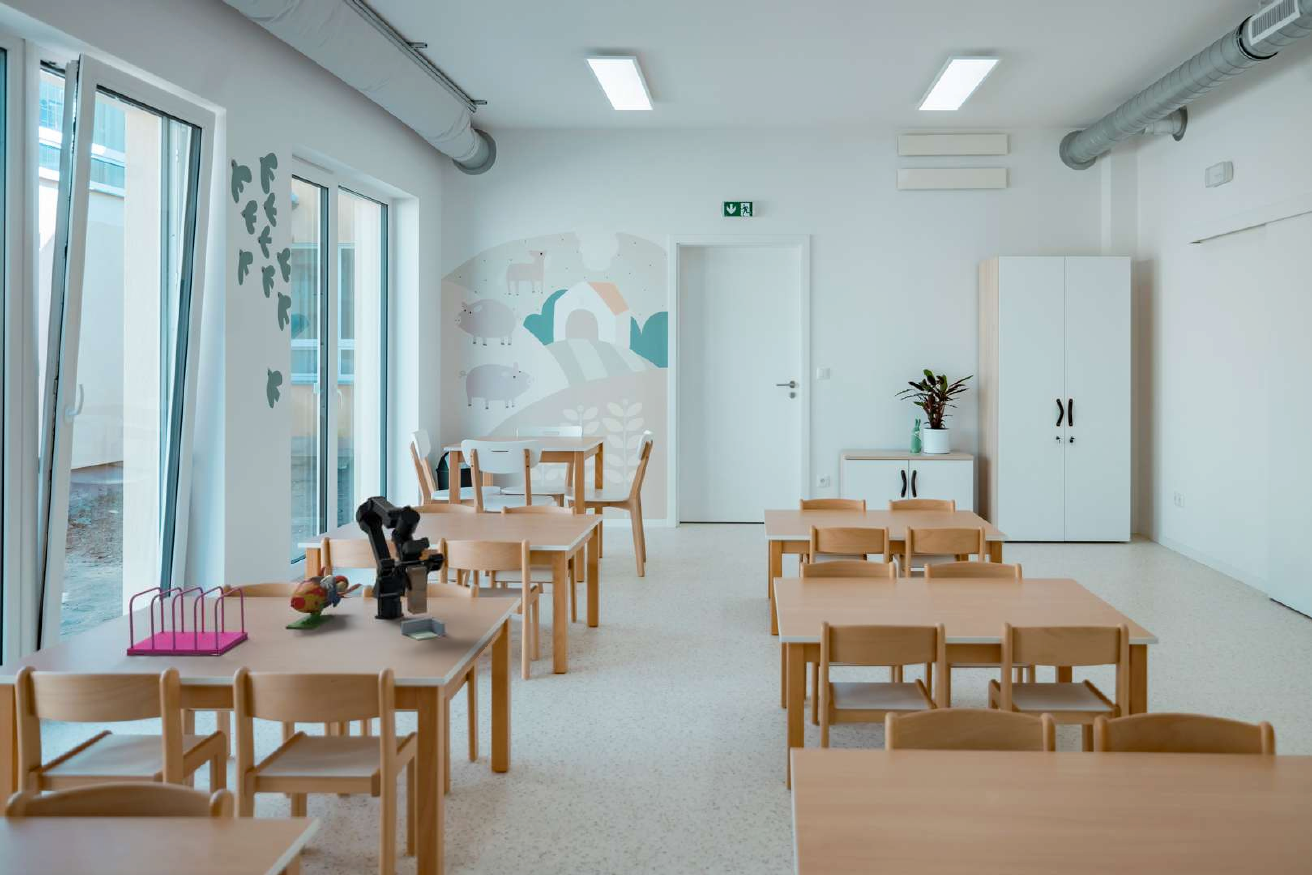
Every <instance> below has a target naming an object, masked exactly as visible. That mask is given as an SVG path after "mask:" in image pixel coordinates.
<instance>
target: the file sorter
mask: <svg viewBox="0 0 1312 875" xmlns="http://www.w3.org/2000/svg"><path fill="white" fill-rule="evenodd" d="M217 589H219V590H220V594H221V595H220V596H219V597H217V599H216V601H215V603H214V631H205V598H204V597H205V596H206V595H208V594H210V593H211V592H214V591H216V590H217ZM155 590H158V591H159V593H157V594H156V595H154V596H153V597H152V599H151V601H150V628H151V629H150V632H151V636H149V637H147V638H145V639H143V640H141V641H140V642H137V643H136V644H134V621H133V620H134V619H133V617H134V616H133V602H134V600H135V599H136V597H139V596H142V595H145V594H146V593H150V592H152V591H155ZM177 590H178V591H179V593H176V594H175V595H174V596H173V598H172V602H171V620H172V621H171V622H172V631H165V622H164V621H165V620H164V617H165V616H164V595H165V594H169V593H171V592H173V591H177ZM196 590H199V591H200V594H199V595H197V596H196V598H195V600H194V604H193V631H185V619H184V618H185V616H184V615H185V614H184V612H185V611H184V610H185V609H184V608H185V607H184V594H187V593H190V592H193V591H196ZM237 591H239V594H240V617H241V619H240V620H241V621H240V622H241V631H225V601H224V600H225V597H226V596H229V595H231V594H233V593H235V592H237ZM179 596H180V614H181V615H180V618H181V619H180V620H181V622H180V623H181V631H180V630H179V631H176V611H175V610H176V609H175V608H176V606H175V604H176V600H177V598H178V597H179ZM158 597H160V626H161V627H160V628H161V629H160V630H161V631H159V632H158V633H155V620H154V604H155V600H156V599H157V598H158ZM199 599H201V600H200V602H201V605H200V606H201V608H200V609H201V631H198V628H197V627H198V625H197V624H198V621H197V617H198V616H197V604H198V601H199ZM220 600H221V602H220V603H221V604H220V605H221V606H220V607H221V611H220V612H221V614H220V615H221V631H218V627H219V626H218V604H219V601H220ZM128 612H129V634H130V639H129V640H130V647H128V648H126V655H127V656H128V655H131V656H133V655H132V654H217V655H216V656H219V655H218V654H220V655H222V654H224V653H225V652H226V650H227V651H228V650H230V649H232V648H233V647H234V646H237V645H238V644H239V643H242V642H243V641H244V640H246V639H248V636H249V634H248V631H245V621H244V620H245V617H244V616H245V613H244V612H245V610H244V592H243V589H242V588H240V587H237V588H234V589H232V590H230V591H228V592H226V593H224V589H223V587H222V586H221V585H218V586H216V587H213V588H211V589H209V590H206V591H205V592H204V590H203V588H202V587H201V586H196V587H194V588H189V589H187V590H183V589H182V588H181V587H180V586H176V587H174V588H171V589H169V590H166V591H163V589H162V588H161V587H160V586H155V587H152V588H150V589H147V590H144V591H141V592H138V593H136V594H134V595H132V596H131V597H130V600H129V611H128ZM232 646H233V647H232ZM224 651H225V652H224Z"/></svg>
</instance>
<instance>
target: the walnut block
mask: <svg viewBox="0 0 1312 875" xmlns="http://www.w3.org/2000/svg"><path fill="white" fill-rule="evenodd" d="M406 572H407V575H408V578H409V580H410V583H411V586H412V591H409V590H408V589H407V588H406V604H407V608H406V609H407V610H406V611H407V612H409V613H410V614H412V615H419V614H420V615H421V614H427V613H428V593H427V591H428V580H427V567H424V566H422V565H412V566H407V569H406Z"/></svg>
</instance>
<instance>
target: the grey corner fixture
mask: <svg viewBox="0 0 1312 875" xmlns="http://www.w3.org/2000/svg"><path fill="white" fill-rule="evenodd" d="M400 623H401V624H400V626H401V627H400V628H401V629H400V630H401V635H402V636H403V635H404V636H405V635H407V636H409V637H410V638H412V639H414V640H416V641H422V640H427V639H435V638H438V637H439V636H440V637H443V636H446V623H445V622H443V621H441V620H440V619H437V618H436V617H435V616H431V617H426V618H419V619H413V620H412V619H411V620H406V621H401V622H400ZM438 635H439V636H438Z"/></svg>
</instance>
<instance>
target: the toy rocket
mask: <svg viewBox="0 0 1312 875" xmlns="http://www.w3.org/2000/svg"><path fill="white" fill-rule="evenodd" d="M325 570H326V566H321V568H320V569H319V571H318V575H317V576H312V577H310V578H309V579H308V580H307V579H306V580H304V581H302V582H300V583H299V585H298V586H296V589H294V591H293V593H292V594H291V596H290V597H291V598H290V604H289V605H290V607H291V608H293V609H294V610H295V611H297V612H299V613H303V614H308V615H306V616H303V617H302V618H300V619H298V620H296V621H295V620H294V622H292V623H290V624H288V625H286V626H285V629H286V630H310V631H311V630H314V629H315V628H317V627H319V626H321V625H323V624H324V623H326V622H328V621H330V620H332V619H333V618H335V614H322V612H323V611H324V609H326V608H328V607H329V606H332V608H336V607H337V606H338V604H340V602H341V600H342V596H344V595H345V593H344V592H343V590H342V588H341V587H339V586H337V584H336V579H335V575H331V574H329V575H327V576H325ZM343 594H344V595H343ZM341 595H342V596H341Z"/></svg>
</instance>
